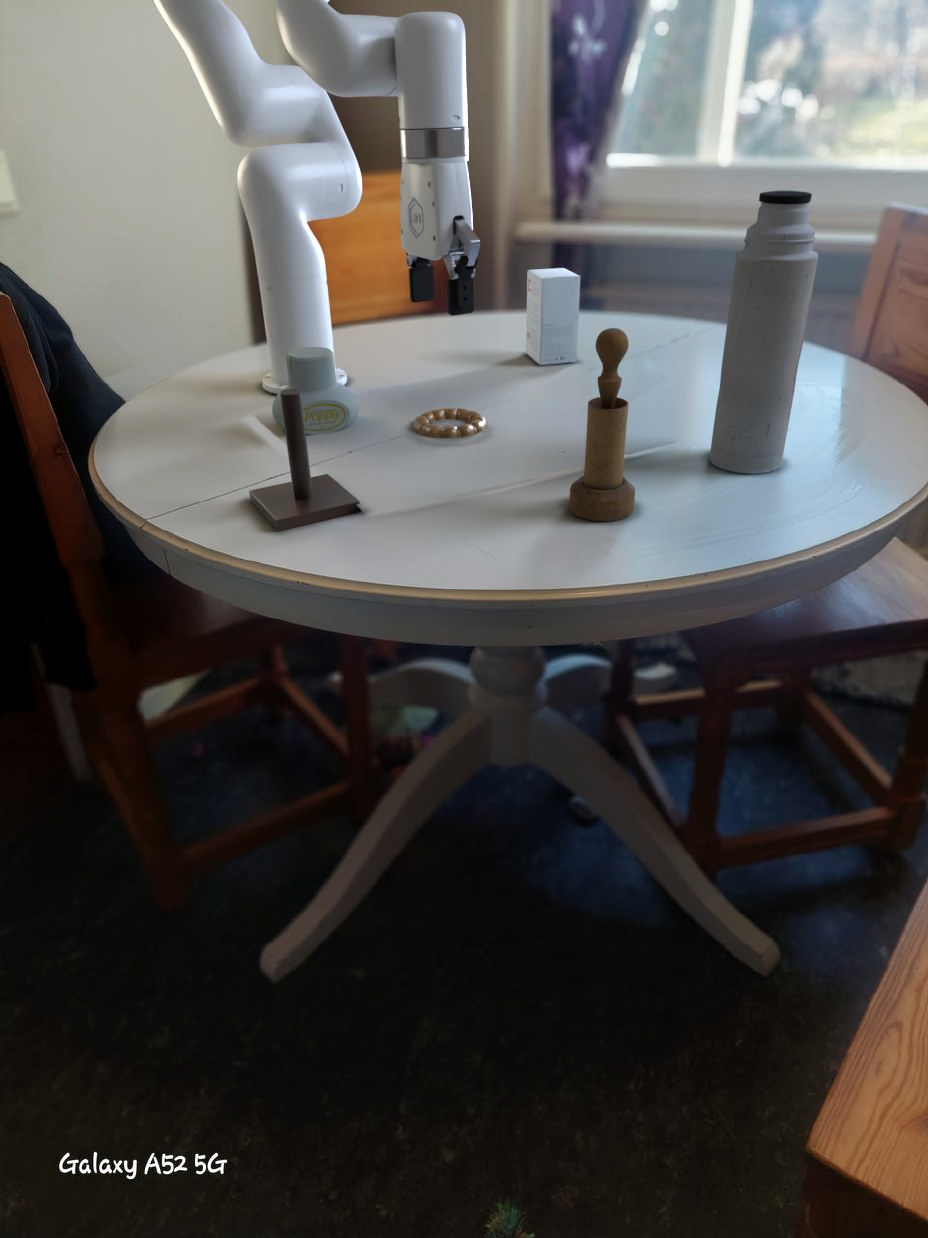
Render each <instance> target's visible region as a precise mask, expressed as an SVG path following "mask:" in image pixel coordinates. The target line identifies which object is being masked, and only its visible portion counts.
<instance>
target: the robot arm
mask: <svg viewBox="0 0 928 1238" xmlns="http://www.w3.org/2000/svg"><path fill="white" fill-rule="evenodd" d="M329 2H330V0H275V16H276V22H277V26H278V30H279V34H280V37H281V40H282V42H283V46H284V47H285V50H286V51H287V53H288V54H289V55H290V57H291V58H292V59H293V60H294V62H295V63H296V64H297V65H295V64H294V65H293V64H271V63H268V62H266V61H263V60H262V59H261V58H260V56H259V55H258V53H257V51H256V49H255V48H254V44H253V43H252V40H251V38H250V36H249V34H248V32H247V29H246V27H244V25H243V24H242V21H241V20H240V19H239V18H238V17H237V16H236V14H235V13H234V12H233V11H232V9H231V8H229V7H228V5H226V4H225V2H223V1H222V0H153V3H154V4H155V6H156V8H157V10H158V12H159V14H160V15H161V17H162V18H163V20H164V21H165V24H167V26H168V27H169V29H170V30H171V33H173V35H174V37H175V38H176V40H177V41H178V43H179V45H180V46H181V48H182V50H183V51H184V53H185V55H186V57H187V59H188V61H189V63H190V65H191V68H192V70H193V72H194V74H195V76H196V79H197V81H198V83H199V85H200V88H201V90H202V91H203V94H204V96H205V98H206V100H207V102H208V105H209V107H210V109H211V111H212V114H213V115H214V118H215V119H216V121H217V123H218V125H219V127H220V129H221V131H222V132H223V134H224V136H225V137H226V138H227V139H228V140H229V141H230V142H231V143H233V144H234V145H236V146H240V147H247V148H255V149H253V150H251V151H249V152H248V153H246V155H244V157H243V158H242V159H241V161H240V163H239V165H238V168H237V174H236V184H237V190H238V194H239V197H240V201H241V204H242V208H243V211H244V214H245V217H246V220H247V224H248V227H249V232H250V237H251V240H252V245H253V246H252V247H253V252H254V258H255V259H254V260H255V265H256V273H257V277H258V286H259V292H260V293H259V294H260V300H261V307H262V314H263V315H262V316H263V321H264V329H265V337H266V344H267V351H268V359H269V366H270V372H269V373H266V374H265V375H264V376H262V378H261V385H262V386H261V387H262V389H263V390H265V391H266V392H268V393H271V394H275V395H278V394H279V393H280V392H281V391H282V390H283V389H284V388H286V387H287V386H289V380H288V372H287V363H286V355H287V354H288V352H290V351H291V350H294V349H298V348H305V347H323V348H328V349H330V350H331V351H332V352H333V354H334V355H335V350H334V338H333V337H334V336H333V328H332V316H331V308H330V299H329V298H330V297H329V296H330V295H329V287H328V277H327V268H326V267H327V266H326V259H325V255H324V251H323V249H322V247H321V245H320V242H319V241H318V239H317V238H316V236H315V234H314V233H313V231H312V230H311V228H310V226H309V224H308V222H313V221H318V220H327V219H332V218H339V217H343V216H346V215H348V214H351V212H353V211H354V210H355V209H357V207H358V205H359V203H360V202H361V198H362V194H363V177H362V172H361V168H360V166H359V162H358V160H357V157H356V155H355V152H354V150H353V148H352V145H351V143H350V140H349V138H348V137H347V134H346V132H345V129H344V128H343V125H342V122H341V121H340V118H339V116H338V114H337V111H336V110H335V107H334V105H333V103H332V101H331V98H330V96H329V94H331V95H332V96H333V95H334V96H337V97H341V98H362V97H364V98H365V97H380V98H381V97H383V98H385V97H389V98H390V97H397V102H398V104H397V106H398V107H397V108H398V121H399V137H400V138H399V139H400V153H401V154H400V155H401V172H400V189H399V191H400V192H399V205H400V207H399V213H400V216H399V217H400V220H399V221H400V242H401V243H400V244H401V248H402V249H403V251H404V252H405V254H406V261H405V263H406V266H407V268H408V282H409V298H410V299H409V300H410V302H412V303H422V302H428V301H433V300H435V298H436V292H435V291H436V289H435V269H434V265H431V262H432V261H439V260H441V259H443V262H444V265H445V267H446V270H447V273H448V275H449V277H450V278H447V279H446V291H447V292H446V294H447V295H446V296H447V297H446V298H447V314H448V315H449V316H462V315H466V314H467V315H468V314H472V313H473V312H474V311H475V304H474V303H475V301H474V299H475V297H474V278H475V276H476V268H477V265H478V262H479V259H478V256H479V251H480V247H481V240H480V237H478V236H477V234H476V233H475V231H474V223H473V207H472V193H471V185H470V177H469V176H470V175H469V168H468V163H467V162H468V161H470V160H469V159H470V158H469V128H468V88H467V52H466V51H467V50H466V49H467V48H466V47H467V45H466V42H467V41H466V28H465V23H464V21H463V19H462V17H460V16H459V15H458V14H457V13H454V12H449V11H418V12H411V13H406V14H403V15H402V16H400V17H398V16H397V17H396V16H381V15H369V14H342V13H340V12H339V11H337V10H336V9H334V8H333V7H332V6H330V4H329ZM455 261H457V263H456V262H455ZM334 364H335V365H336V359H335V357H334ZM335 373H336V382H338V383H340V384H342V385H344V386H345V385H346V384H347V382H348V377H347V376H348V375H347V372H346V371H345V370H344V369H341V368H338V367H335Z"/></svg>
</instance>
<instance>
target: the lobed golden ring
mask: <svg viewBox="0 0 928 1238" xmlns="http://www.w3.org/2000/svg"><path fill="white" fill-rule="evenodd" d="M443 420H459V421H465V422H467V424H462V425H457V426H440V425H435V424H433V423H435V422H438V421H443ZM412 427H413V428H412V430H413V431H415V432H416V433H417V434H420V435H421V436H425V437H430V438H436V439H460V438H465V437H466V438H467V437H471V436H475V435H478V434H479V433H481V432H483V431H484V430H486V429H487V419H486V418H485V416H484V415H482V414H481V413H479V412H476V411H475V410H472V409H465V408H461V407H453V408H452V407H450V408H449V407H448V408H447V407H446V408H438V409H437V408H436V409H433V410H427V411H425V412H424V413H422V414H420V415H418V416H416V417H415V419H414V421H413V426H412Z"/></svg>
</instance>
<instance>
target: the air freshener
mask: <svg viewBox="0 0 928 1238" xmlns="http://www.w3.org/2000/svg"><path fill="white" fill-rule="evenodd" d="M334 358H335V353H334V354H333V352H332V351H331V350H330V349H328V348H323V347H305V348H298V349H294V350H291V351H290V352H288V354H287V355H286V363H287V372H288V380H289V386H287V387H286V388H284V389H283V390H287V389H297V390H300V391H301V400H302V408H303V416H304V425H305V433H306V436H316V435H323V434H331V433H336V432H339V431H342V430H344V429H346V428H347V427H349V426H350V425H352V423H353V422H354V421H355V419H356V418H357V416H358V413H359V410H360V404H359V400H358V398H357V396H356V395H355V393H354V392H353V391H352V390H351V389H350V388H349V387H347V386H346V385H345V384H344V385H342V384H340V383H338V382H336V373H335V368H336V363H335V364H334ZM283 390H282V391H283ZM271 414H272V416H273V419H274V420H275V422H276V424H277V425H279V426H280V428H282V429H283V430H285V427H284V420H283V412H282V405H281V397H280V393H279V394H276V396H275V398H274V399H273V401H272V405H271Z"/></svg>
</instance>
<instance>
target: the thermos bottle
mask: <svg viewBox="0 0 928 1238" xmlns="http://www.w3.org/2000/svg"><path fill="white" fill-rule="evenodd" d="M812 196H813V194H812V193H811V192H808V191H802V190H801V191H800V190H790V189H789V190H785V189H784V190H781V189H780V190H769V191H763V192H759V197H758V201H759V202H760V206H759V207H758V212H757V218H756V222H755V223H753V224H752V225H750V226H749V227H747V229H746V233H745V238H743V242H744V248H742V249H740V250H738V251H737V252H736V254H735V256H736V257H735V261H734V269H733V277H732V284H731V293H730V300H729V307H728V314H727V323H726V329H725V338H724V346H723V353H722V359H721V370H720V380H719V389H718V394H717V401H716V407H715V413H714V419H713V429H712V434H711V435H712V436H711V444H710V452H709V461H710V462H711V463H712V465H714V466H715V467H718V468H719V469H723V470H726V471H730V472H733V473H740V474H750V475H751V474H752V475H753V474H755V475H756V474H766V473H770V472H774V471H776V470H778V469H780V467H781V466H782V462H783V458H784V451H785V446H786V440H787V436H788V435H787V434H788V431H789V430H788V429H789V425H790V419H791V413H792V408H793V407H792V406H793V402H794V397H795V389H796V388H795V387H796V382H797V375H798V368H799V364H800V363H799V362H800V359H801V356H802V350H803V345H804V339H805V334H806V328H807V322H808V317H809V312H810V306H811V300H812V295H813V289H814V283H815V277H816V273H817V272H816V271H817V266H818V259H819V253H818V252H816V251H814V250H813V247H814V241H816V237H815V235H816V229H815V228H814V227H813V226H812V225H810V223H809V216H810V207H809V206H810V203H811V201H812Z"/></svg>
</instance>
